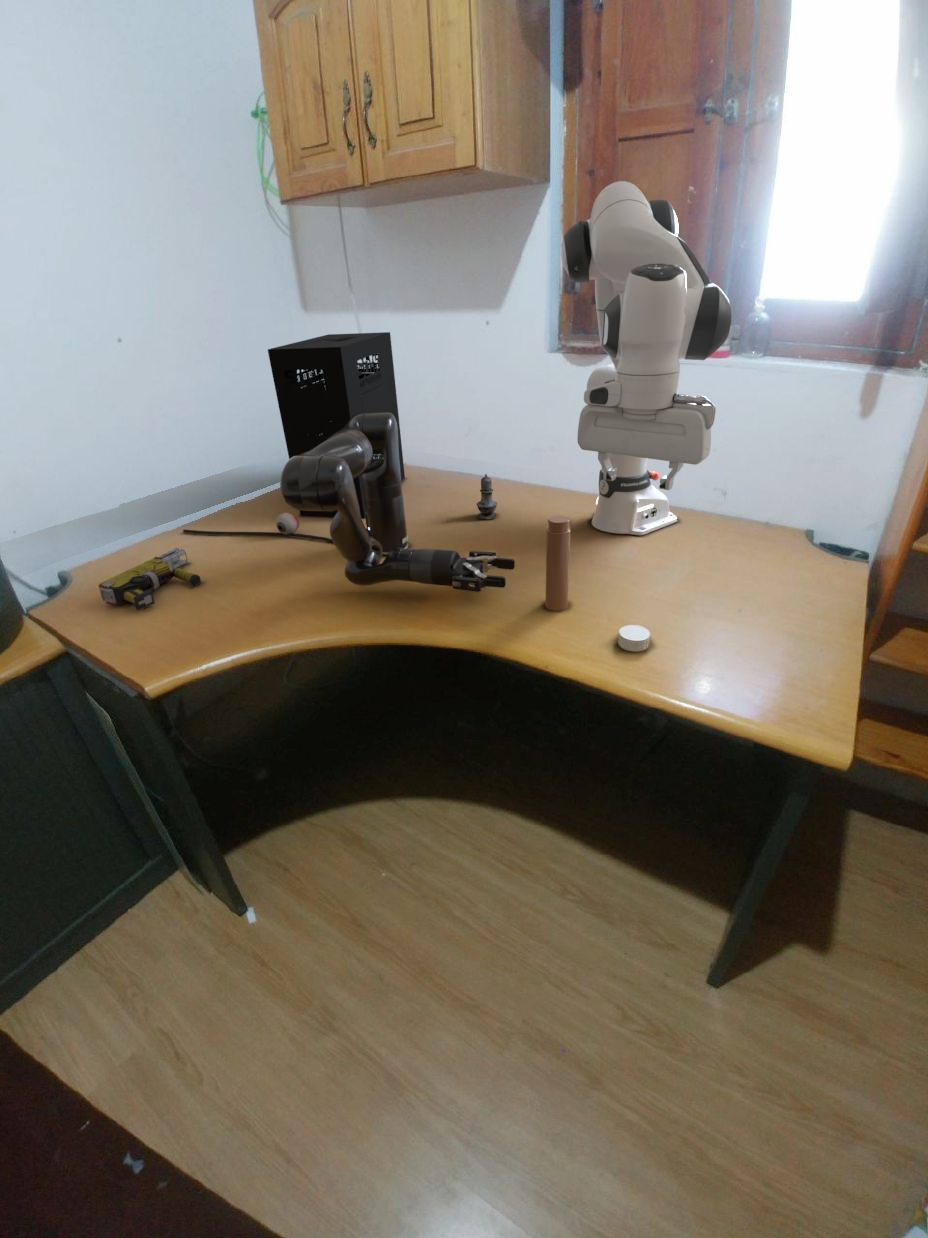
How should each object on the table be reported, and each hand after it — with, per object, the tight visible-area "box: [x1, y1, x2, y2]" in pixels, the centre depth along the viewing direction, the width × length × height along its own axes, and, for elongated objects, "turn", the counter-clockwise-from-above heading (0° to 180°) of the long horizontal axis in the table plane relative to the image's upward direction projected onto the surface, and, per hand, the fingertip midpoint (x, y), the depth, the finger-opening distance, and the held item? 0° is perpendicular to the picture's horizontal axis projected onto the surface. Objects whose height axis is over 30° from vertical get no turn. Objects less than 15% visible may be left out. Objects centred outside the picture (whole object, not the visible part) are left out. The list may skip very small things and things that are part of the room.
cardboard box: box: [267, 331, 406, 519], centre depth 180 cm, size 38×20×45 cm, turn 167°
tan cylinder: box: [544, 514, 572, 612], centre depth 118 cm, size 4×4×19 cm
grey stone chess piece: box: [476, 473, 498, 520], centre depth 166 cm, size 6×6×12 cm
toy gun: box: [98, 547, 202, 611], centre depth 139 cm, size 5×24×15 cm
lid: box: [617, 624, 651, 652], centre depth 109 cm, size 6×6×2 cm
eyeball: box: [275, 511, 300, 534], centre depth 163 cm, size 6×6×6 cm
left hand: (510, 573), depth 123 cm, fingers open, 8 cm apart
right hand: (636, 483), depth 95 cm, fingers open, 8 cm apart
